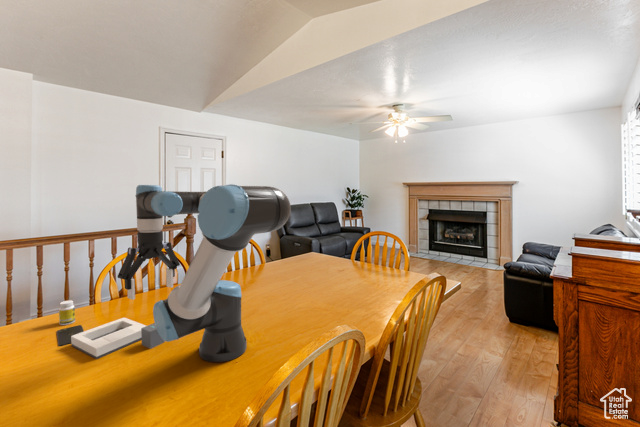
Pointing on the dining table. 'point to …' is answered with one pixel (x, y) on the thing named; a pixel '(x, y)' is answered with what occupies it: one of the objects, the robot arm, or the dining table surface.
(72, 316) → the supplement bottle
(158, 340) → the charger brick
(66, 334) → the smartphone
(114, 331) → the white slotted tray
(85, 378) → the dining table surface
